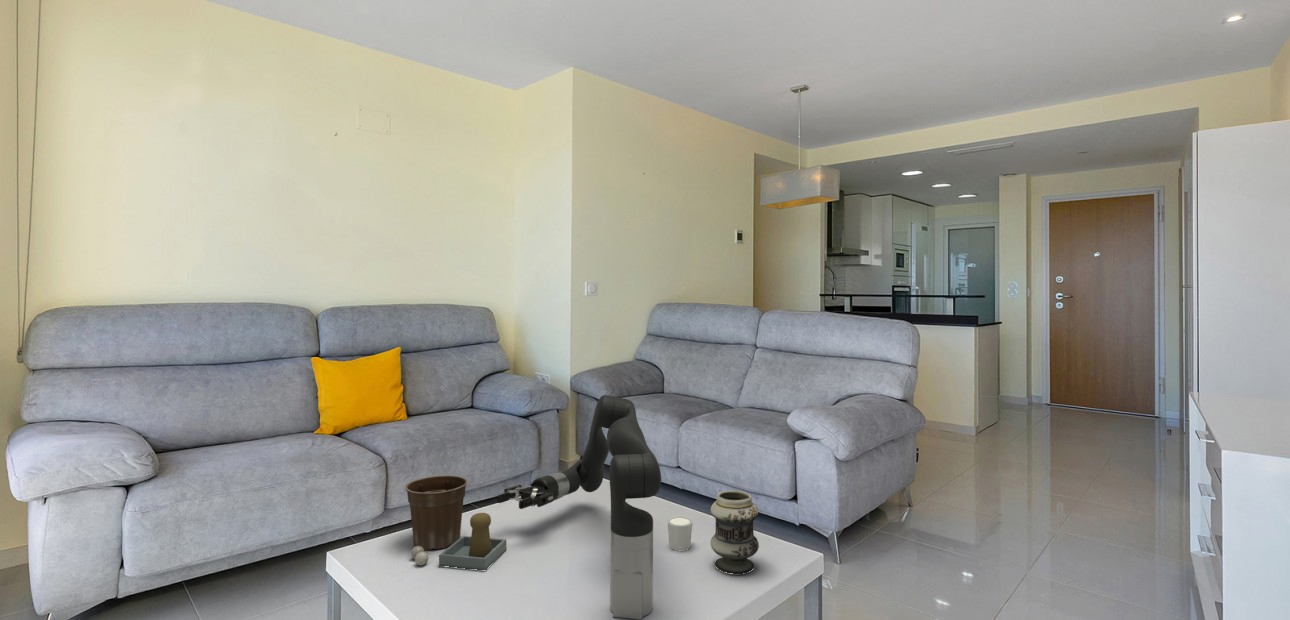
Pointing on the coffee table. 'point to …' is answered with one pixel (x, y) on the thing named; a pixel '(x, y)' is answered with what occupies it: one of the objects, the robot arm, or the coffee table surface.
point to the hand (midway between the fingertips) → (508, 502)
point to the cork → (480, 535)
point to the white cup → (679, 533)
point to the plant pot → (436, 510)
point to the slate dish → (460, 556)
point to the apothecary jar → (734, 531)
